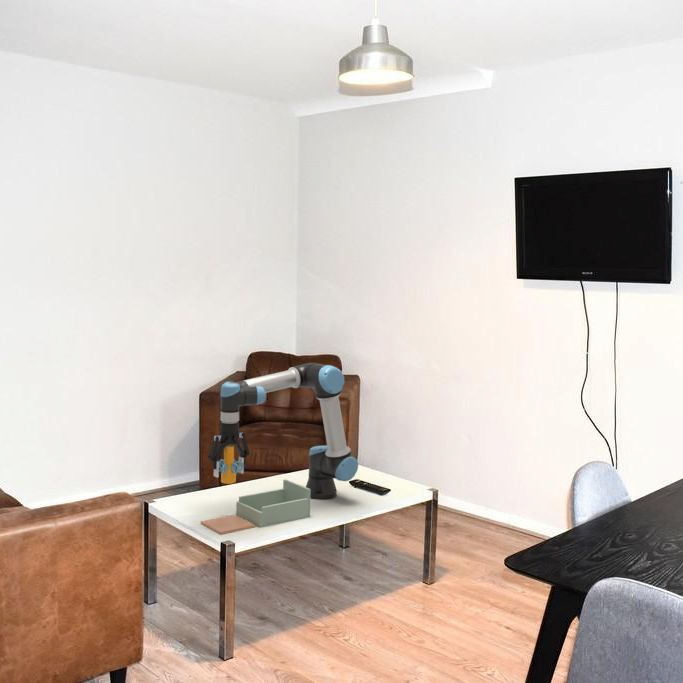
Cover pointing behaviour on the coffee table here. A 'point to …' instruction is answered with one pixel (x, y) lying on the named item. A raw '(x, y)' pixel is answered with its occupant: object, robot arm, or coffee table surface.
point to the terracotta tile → (227, 524)
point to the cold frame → (275, 505)
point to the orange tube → (229, 466)
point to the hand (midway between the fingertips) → (228, 474)
